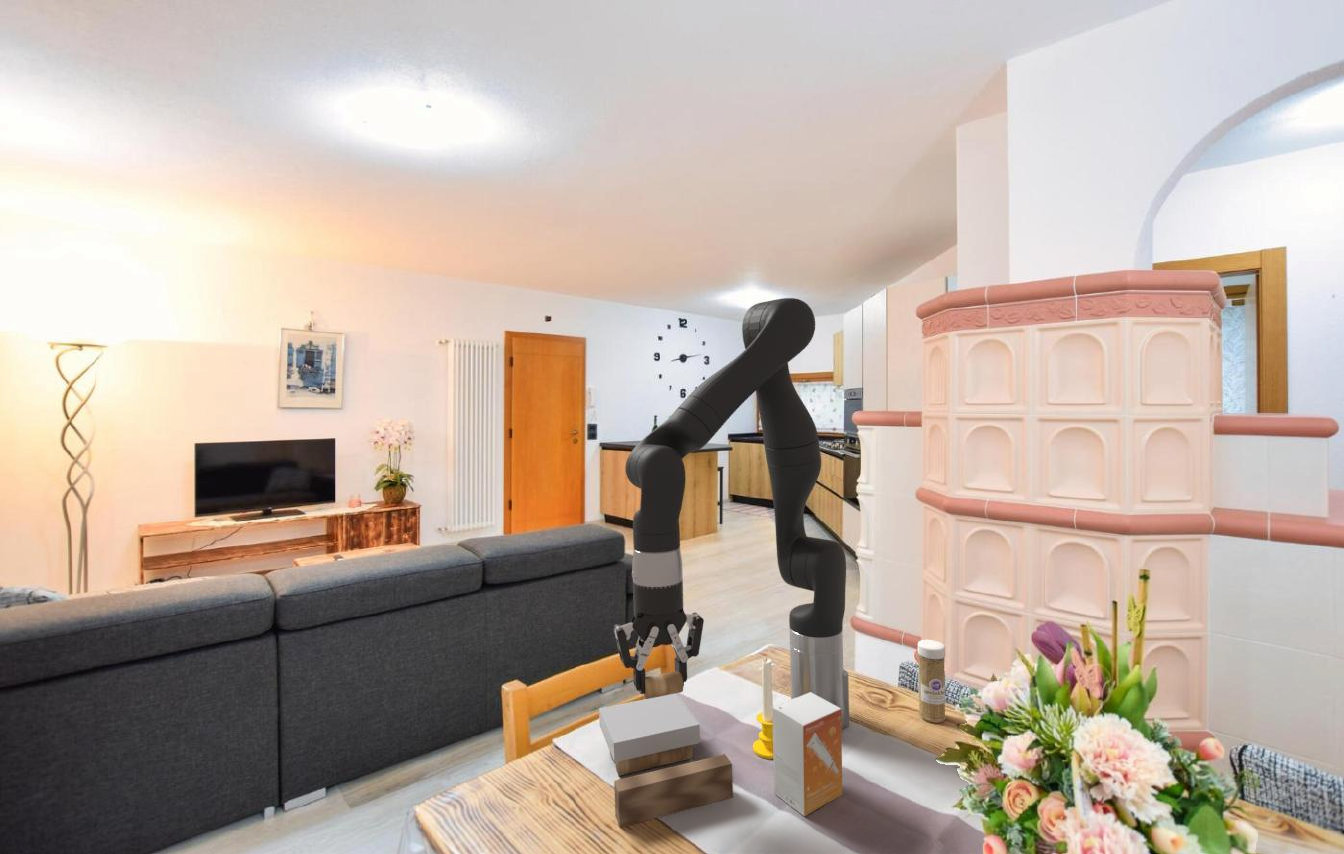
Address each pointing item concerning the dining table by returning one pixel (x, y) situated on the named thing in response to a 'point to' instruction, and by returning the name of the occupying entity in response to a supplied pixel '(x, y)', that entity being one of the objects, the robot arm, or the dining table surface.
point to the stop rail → (672, 789)
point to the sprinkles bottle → (931, 681)
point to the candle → (766, 714)
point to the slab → (648, 727)
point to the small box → (807, 752)
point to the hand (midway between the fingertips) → (660, 687)
